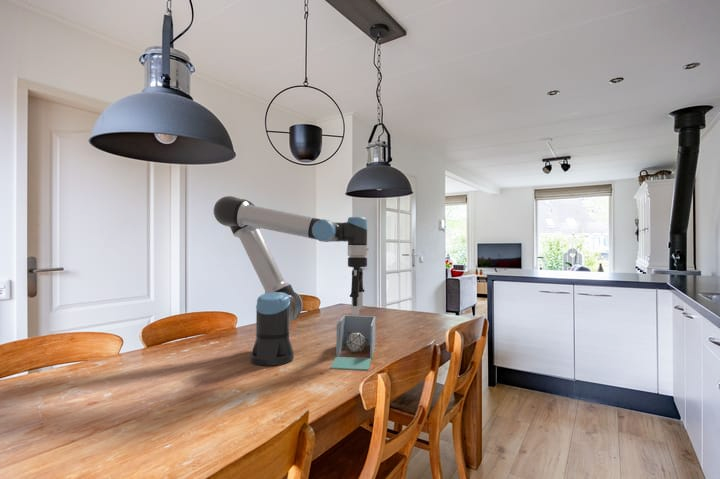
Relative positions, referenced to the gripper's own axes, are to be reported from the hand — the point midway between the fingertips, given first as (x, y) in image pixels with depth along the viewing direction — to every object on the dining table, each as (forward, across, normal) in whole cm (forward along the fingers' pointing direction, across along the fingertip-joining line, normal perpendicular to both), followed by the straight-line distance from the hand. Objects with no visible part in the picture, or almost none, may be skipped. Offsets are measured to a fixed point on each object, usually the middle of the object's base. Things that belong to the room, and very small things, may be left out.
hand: (357, 311), depth 144 cm
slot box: (+16, +2, 0) cm, 16 cm away
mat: (+16, -14, 0) cm, 21 cm away
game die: (+16, 0, 0) cm, 16 cm away
